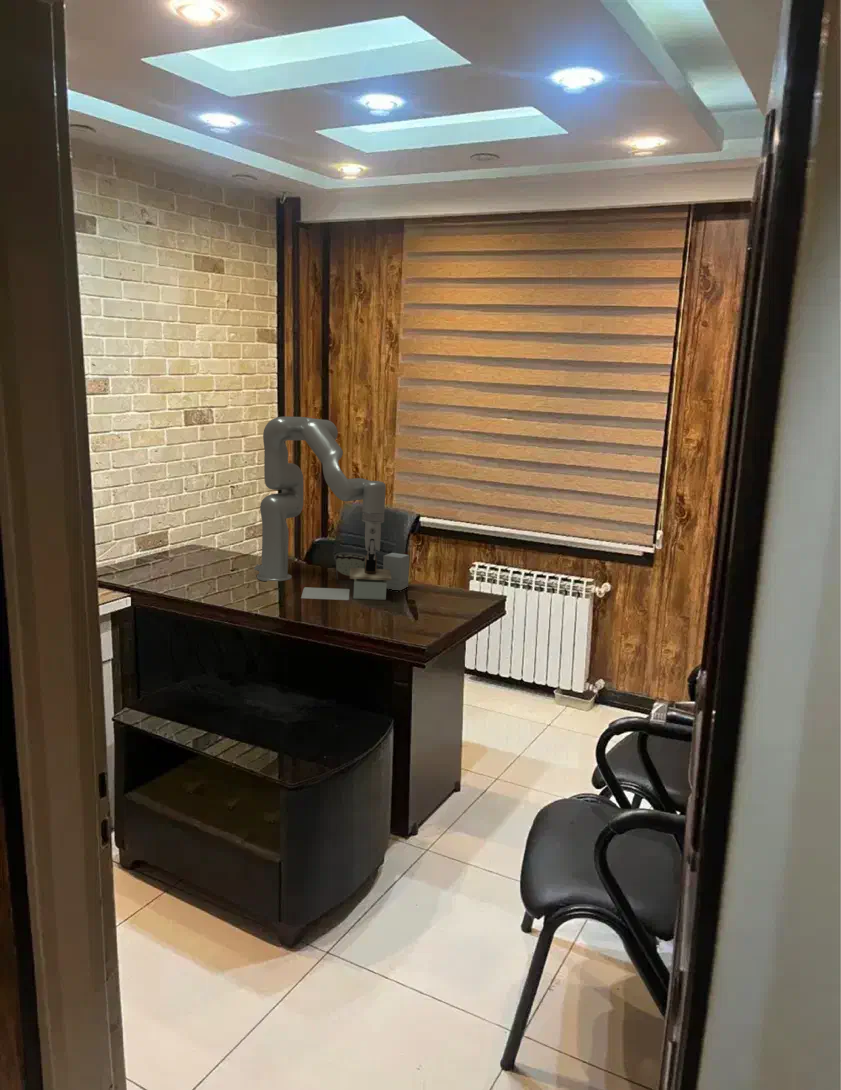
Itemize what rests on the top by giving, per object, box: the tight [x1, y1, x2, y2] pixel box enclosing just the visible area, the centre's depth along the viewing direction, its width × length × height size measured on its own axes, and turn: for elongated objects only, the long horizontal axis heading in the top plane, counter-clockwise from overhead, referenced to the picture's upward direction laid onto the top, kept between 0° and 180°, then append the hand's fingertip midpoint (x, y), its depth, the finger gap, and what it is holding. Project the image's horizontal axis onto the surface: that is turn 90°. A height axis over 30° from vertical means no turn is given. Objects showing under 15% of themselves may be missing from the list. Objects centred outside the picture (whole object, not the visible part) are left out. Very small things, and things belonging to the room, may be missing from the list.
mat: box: [300, 586, 350, 601], centre depth 282 cm, size 16×16×1 cm
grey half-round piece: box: [333, 552, 365, 581], centre depth 307 cm, size 12×6×10 cm, turn 84°
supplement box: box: [382, 552, 410, 591], centre depth 297 cm, size 7×7×13 cm
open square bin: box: [352, 579, 387, 601], centre depth 283 cm, size 11×11×6 cm
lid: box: [350, 554, 391, 580], centre depth 282 cm, size 14×14×7 cm
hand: (370, 569), depth 282 cm, fingers closed on lid, 3 cm apart
